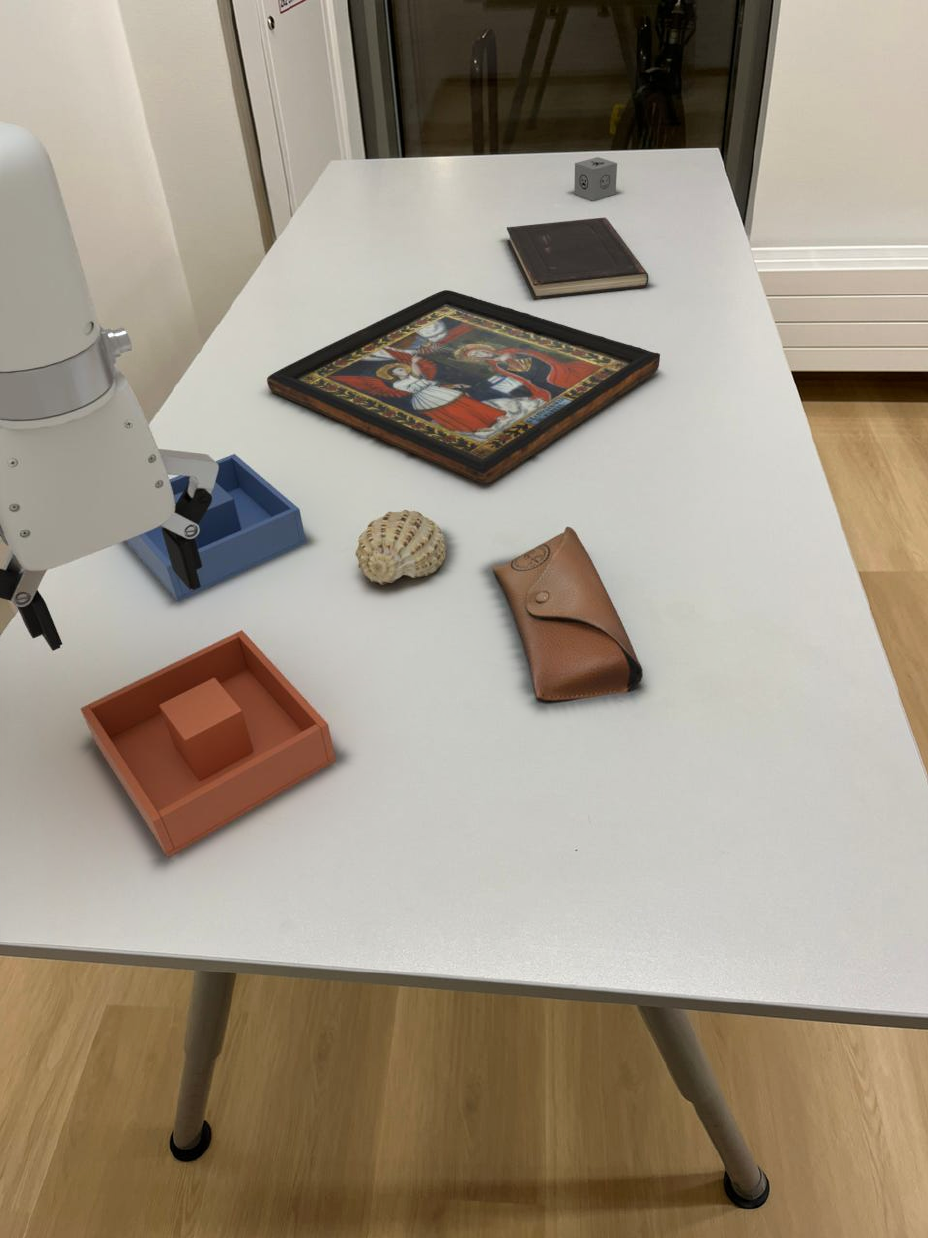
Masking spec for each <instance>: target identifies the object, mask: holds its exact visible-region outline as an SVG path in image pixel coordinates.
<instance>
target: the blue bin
mask: <svg viewBox="0 0 928 1238" xmlns="http://www.w3.org/2000/svg"><path fill="white" fill-rule="evenodd" d="M214 461H215V462H216V463H217V464H218V465H219V470H218V474H217V477H216V481H215V482H216V483H217V484H218V485H219V486H220V487H221V488H222V489H224V490H225V491H226V492H227V493H228V494H229V495H230V496H231V497H232V498H233V499H234V502H235V506H236V510H237V514H238V518H239V522H240V526H241V531H238V532H236V533H234V534H232V535H229V536H227V537H225V538H222V539H220V540H218V541H215V542H213V543H211V544H209V545H206V546H204V547H202V548H199V549H198V551H199V555H200V559H201V563H202V568H200V569H198V570H197V574H198V577H199V581H200V585H201V587H200V588H198V589H196V590H193V589H191V590H190V589H189V588H188V587H187V586H186V585H185V584H184V582H183V581H182V580H181V579H180V578H179V577H178V575H177V574H176V573H175V572H174V570H173V568H172V564H171V561H170V557H169V554H168V550H167V547H166V544H165V540H164V537H163V533H162V528H163V527H162V526H159V527H157V528H155V529H153V530H150V531H148V532H145V533H143V534H140V535H138V536H135V537H133V538H130V539H128V540H125V541H124V542H126V544H127V545H128V546H129V547H130V548H131V549H132V550H133V551H134V553H135V554H136V555H137V557H138V558H140V560H141V561H142V562H143V563H144V564H145V566H146V567H147V568H148V569H149V570H150V572H152V574H153V575H154V576H155V577H156V578H157V580H158V581H159V582H160V583H161V584H162V585H163V586H164V587H165V588H166V590H167V591H168V592H169V593H170V595H171V596H172V597H173V598H174V599H175V601H177V602H180V601H182V600H184V599H187V598H189V597H191V596H193V595H196V594H198V593H201V592H202V591H204V590H206V589H208V588H211V587H213V586H215V585H217V584H219V583H222V582H224V581H226V580H228V579H231V578H233V577H235V576H237V575H239V574H241V573H244V572H246V571H248V570H251V569H252V568H254V567H257V566H259V565H261V564H264V563H266V562H268V561H270V560H272V559H274V558H277V557H280V556H281V555H283V554H285V553H288V552H290V551H292V550H295V549H296V548H298V547H301V546H303V545H305V544H307V540H306V534H305V530H304V525H303V519H302V515H301V511H300V510H301V509H300V508H299V507H298V506H297V505H295V504H294V503H293V502H292V501H291V500H289V499H288V498H287V497H286V496H285V495H284V494H282V493H281V492H280V490H278V489H277V488H276V487H274V486H273V485H272V484H271V483H269V481H267V480H266V479H265V478H264V477H262V475H260V474H259V473H258V472H256V471H255V469H253V468H252V467H251V466H250V465H249V464H247V463H246V462H245V461H244V460H243V459H241V457H239V456H238V455H237V454H235V453H233V454H230V455H228V456H224V457H223V458H220V459H218V460H214ZM189 479H190V476H180V475H176V476H174V477H172V478H169V480H170V484H171V487H172V491H173V494H174V495H176V494H179V493H181V492H183V491H184V490H185V488H186V486H187V485H188V484H189V483H190V481H189Z"/></svg>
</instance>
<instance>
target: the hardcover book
mask: <svg viewBox="0 0 928 1238" xmlns="http://www.w3.org/2000/svg"><path fill="white" fill-rule="evenodd" d="M506 231H507V233H508V236H509V239H507V240H506V243H507V245H508V247H509V249H510V251H511V254H512V255H513V257H514V260H515V262H516V264H517V266H518V268H519V271H520V272H521V274H522V277H523V279H524V281H525V283H526V285H527V287H528V290H529V292H530V294H531V296H532V298H533V300H542V299H552V298H561V297H563V298H564V297H571V296H583V295H591V294H601V293H610V292H618V291H619V292H620V291H627V290H638V289H644V288H646V287H647V285H648V284H649V273H648V272H647V270H646V269H645V268H644V266H643V265H642V264H641V262H640V261H639V260H638V259H637V257H636V256H635V255H634V253H633V252H632V250H631V249H630V248H629V246H628V245H627V243H626V242H625V241H624V240H623V238H622V237H621V236H620V234H619V233H618V231H617V230H616V229H615V228H614V226H613V225H612V224H611V222H610V221H609V219H608V218H606V217H596V218H585V219H575V220H566V221H554V222H545V223H537V224H527V225H525V224H524V225H515V226H507V227H506Z"/></svg>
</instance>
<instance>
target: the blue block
mask: <svg viewBox="0 0 928 1238" xmlns="http://www.w3.org/2000/svg"><path fill="white" fill-rule="evenodd" d="M182 493H183V492H181V493H179V494H176V495H174V499H175V504H176V503H177V501H178V500H179V498H180V496H181V495H182ZM211 496H212V502H211V504H210V506H209V507H208V509H207V511H206V512H205V514H204V516H203V517H202V519H201V521H200V522H199V524H198V526H199V528H200V531H199V534H198V535H197V536H196V537H195V540H196V544H197V547H198V549H199V548H202V547H204V546H206V545H209V544H211V543H213V542H215V541H218V540H220V539H222V538H225V537H227V536H229V535H232V534H234V533H236V532H238V531H241V526H240V522H239V518H238V514H237V510H236V506H235V502H234V499H233V498H232V497H231V496H230V495H229V494H228V493H227V492H226V491H225V490H224V489H222V488H221V487H220V486H219V485H218V484H217V483H216V482H215V485H214V489H212V492H211Z"/></svg>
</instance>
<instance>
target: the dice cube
mask: <svg viewBox="0 0 928 1238" xmlns="http://www.w3.org/2000/svg"><path fill="white" fill-rule="evenodd" d="M617 172H618V163H617V162H614V161H612V160H608V159H606V158H602V157H599V156H597V157H593V158H589V159H585V160H581V161H578V162H575V163H574V189H573V190H574V192H573V194H574V195H575V196H578V197H580V198H583V199H586V200H589V201H591V202H594V201H598V200H601V199H605V198H608V197H611V196H615V195H617V174H618V173H617Z"/></svg>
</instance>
